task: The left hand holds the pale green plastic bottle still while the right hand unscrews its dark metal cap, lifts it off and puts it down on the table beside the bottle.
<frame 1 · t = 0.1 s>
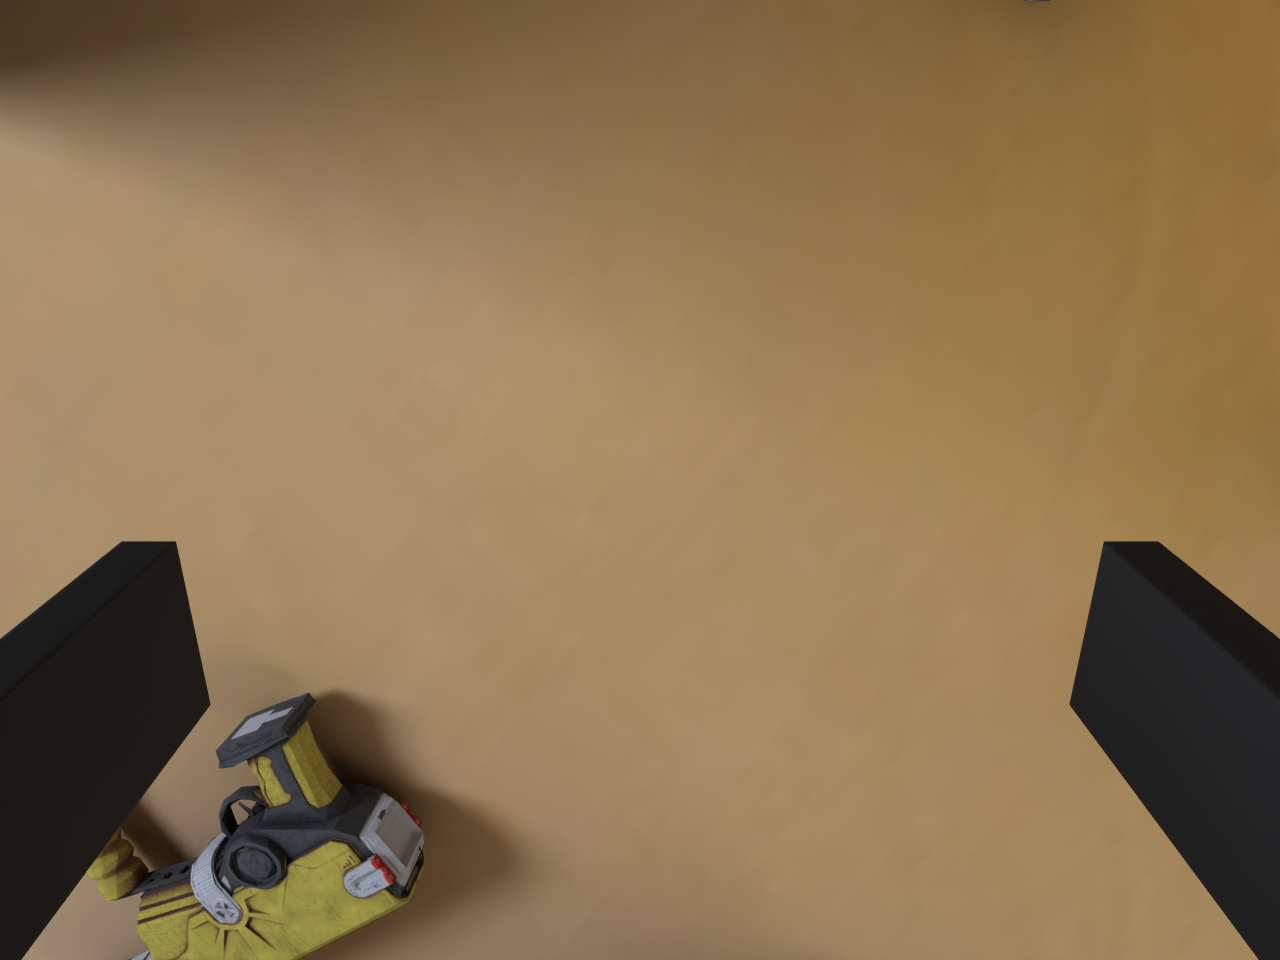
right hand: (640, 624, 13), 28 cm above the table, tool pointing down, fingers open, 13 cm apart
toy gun: (200, 833, 50), on the table
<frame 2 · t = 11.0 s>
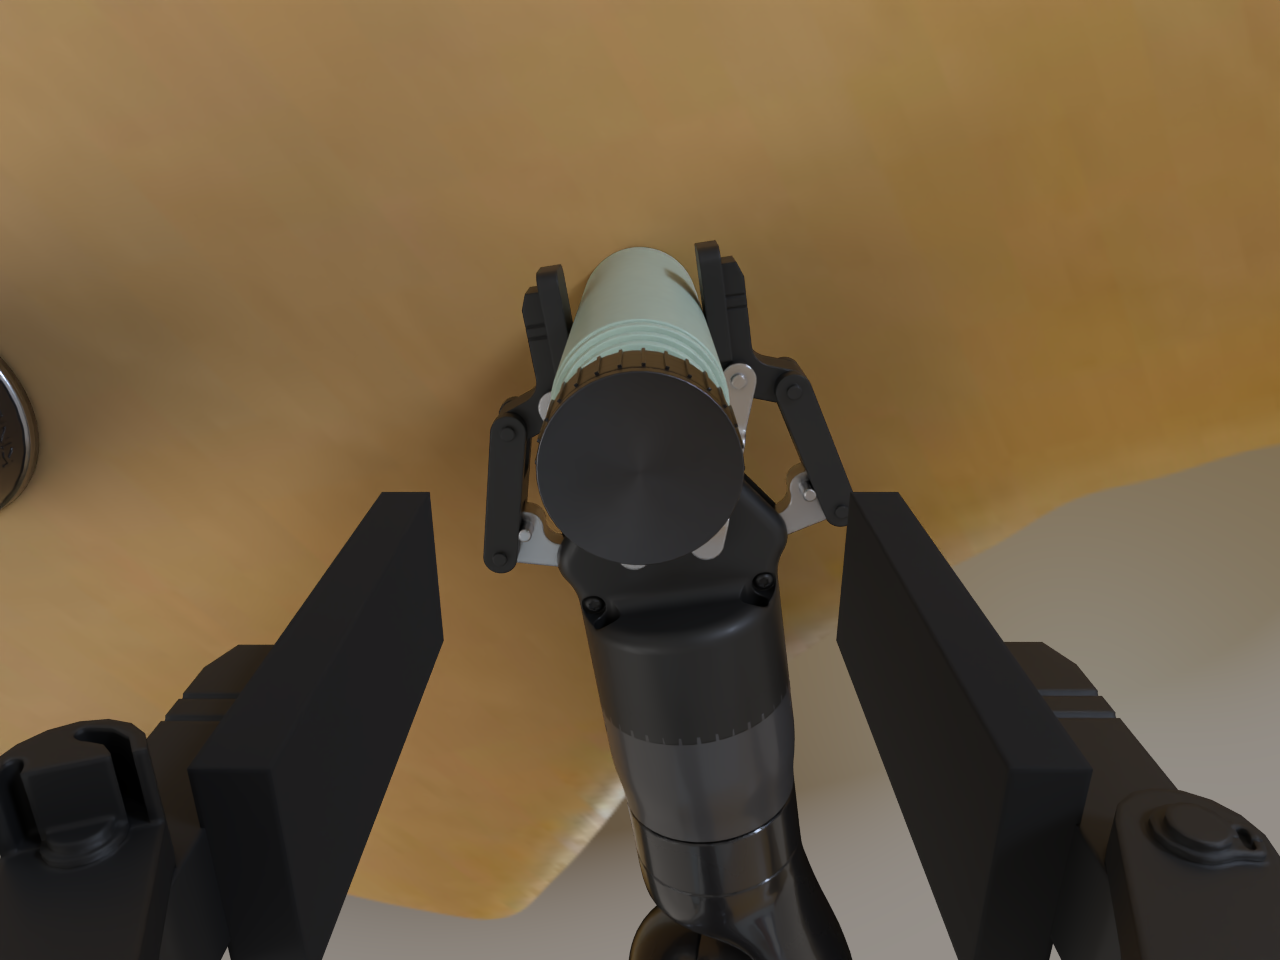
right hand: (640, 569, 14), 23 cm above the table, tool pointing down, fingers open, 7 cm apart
bottle: (639, 305, 36), on the table, touching left hand
cap: (640, 467, 19), point 18 cm above the table, screwed on, not yet turned
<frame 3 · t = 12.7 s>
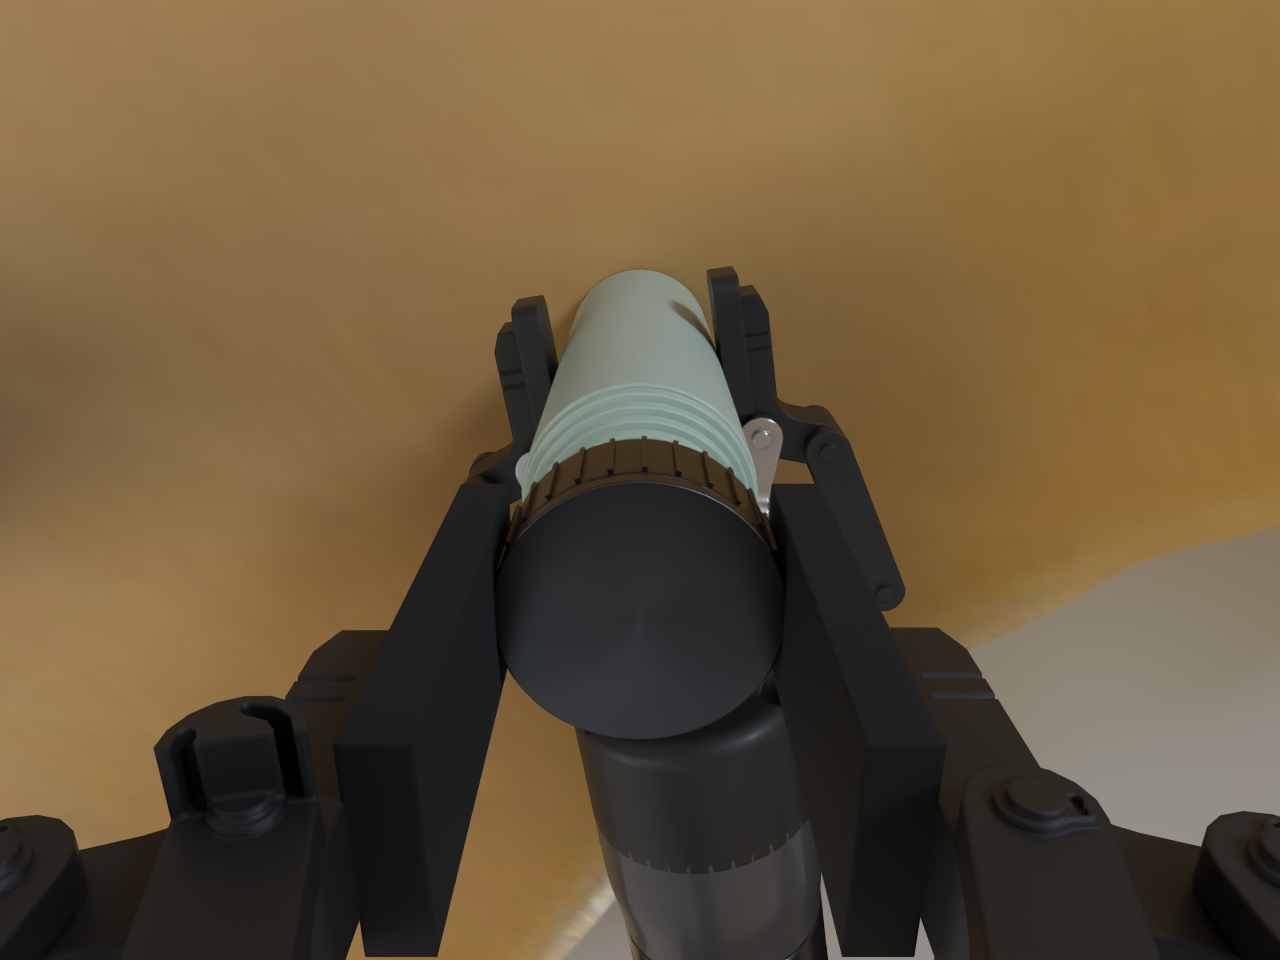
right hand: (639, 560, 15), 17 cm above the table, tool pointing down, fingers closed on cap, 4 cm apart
bottle: (639, 337, 30), on the table, touching left hand
cap: (639, 608, 13), point 18 cm above the table, screwed on, not yet turned, touching right hand
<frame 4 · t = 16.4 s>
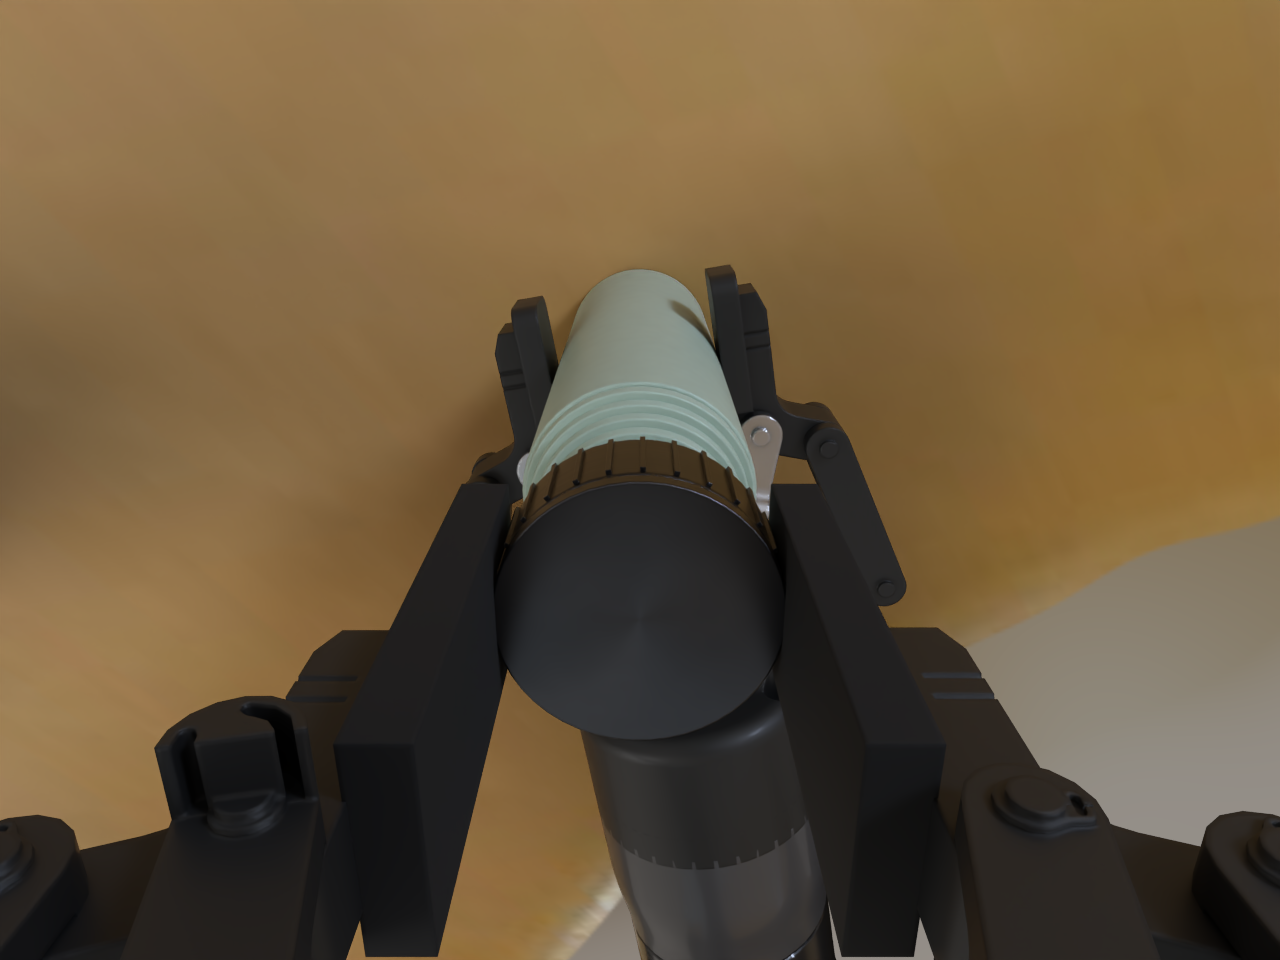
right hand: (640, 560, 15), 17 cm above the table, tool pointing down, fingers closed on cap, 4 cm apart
bottle: (639, 336, 31), on the table, touching left hand
cap: (639, 609, 13), point 18 cm above the table, turned 141° so far, risen 0.2 cm, still on its thread, touching right hand
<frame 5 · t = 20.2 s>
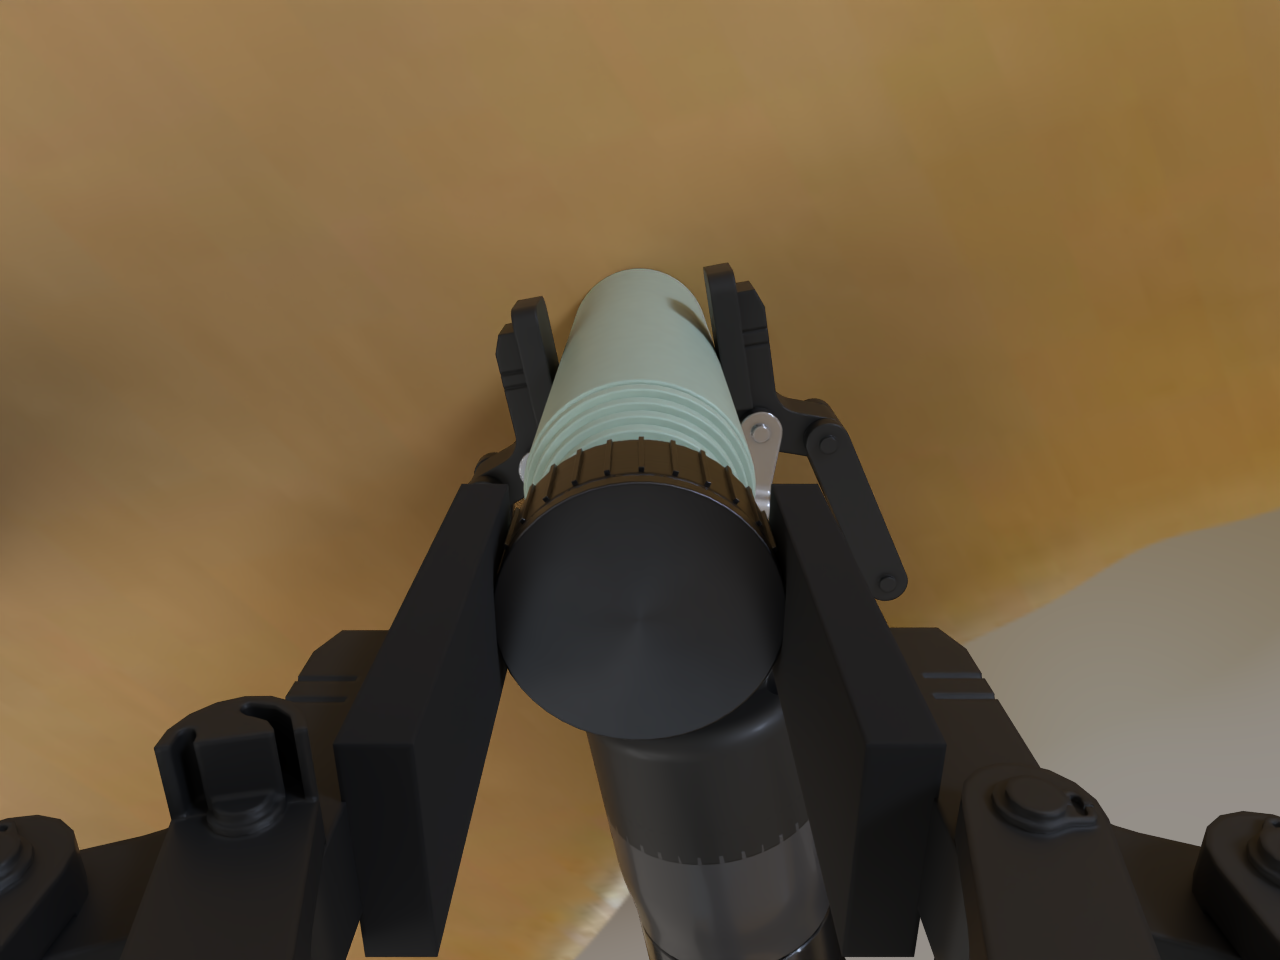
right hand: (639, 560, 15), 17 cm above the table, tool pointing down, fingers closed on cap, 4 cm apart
bottle: (639, 335, 31), on the table, touching left hand
cap: (639, 609, 13), point 19 cm above the table, turned 283° so far, risen 0.3 cm, still on its thread, touching right hand
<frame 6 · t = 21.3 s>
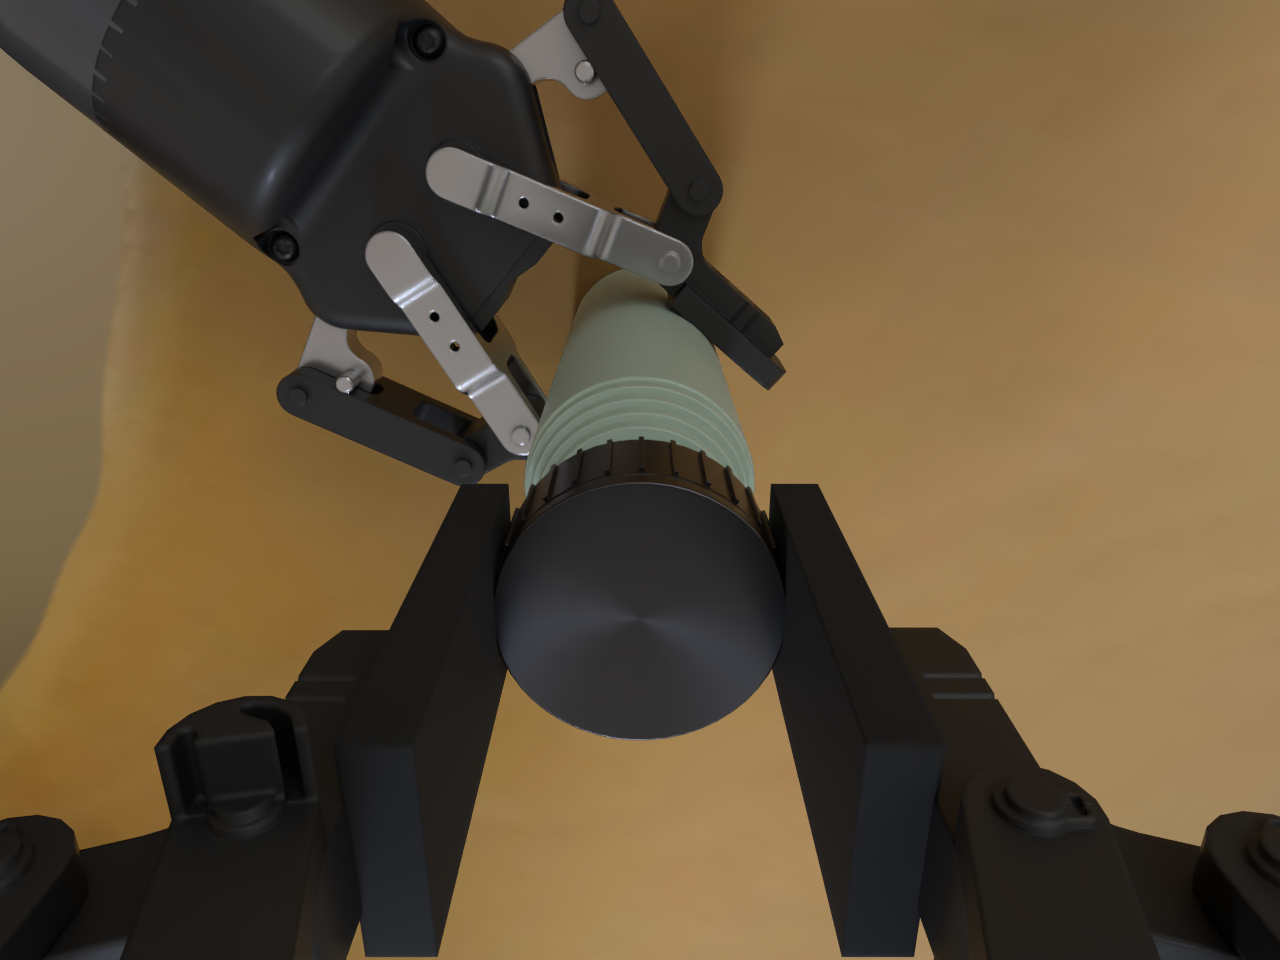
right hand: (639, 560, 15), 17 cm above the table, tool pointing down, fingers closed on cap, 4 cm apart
bottle: (639, 334, 31), on the table, touching left hand
cap: (639, 609, 13), point 19 cm above the table, off its thread, touching right hand
when the right hand's fingers open (1 cm above the table, at t = 27.5 s): cap drops 1 cm, point 2 cm above the table.
when the left hand's fingers open (6 cm above the table, at t = 28.8 s): bottle stays where it is, on the table.
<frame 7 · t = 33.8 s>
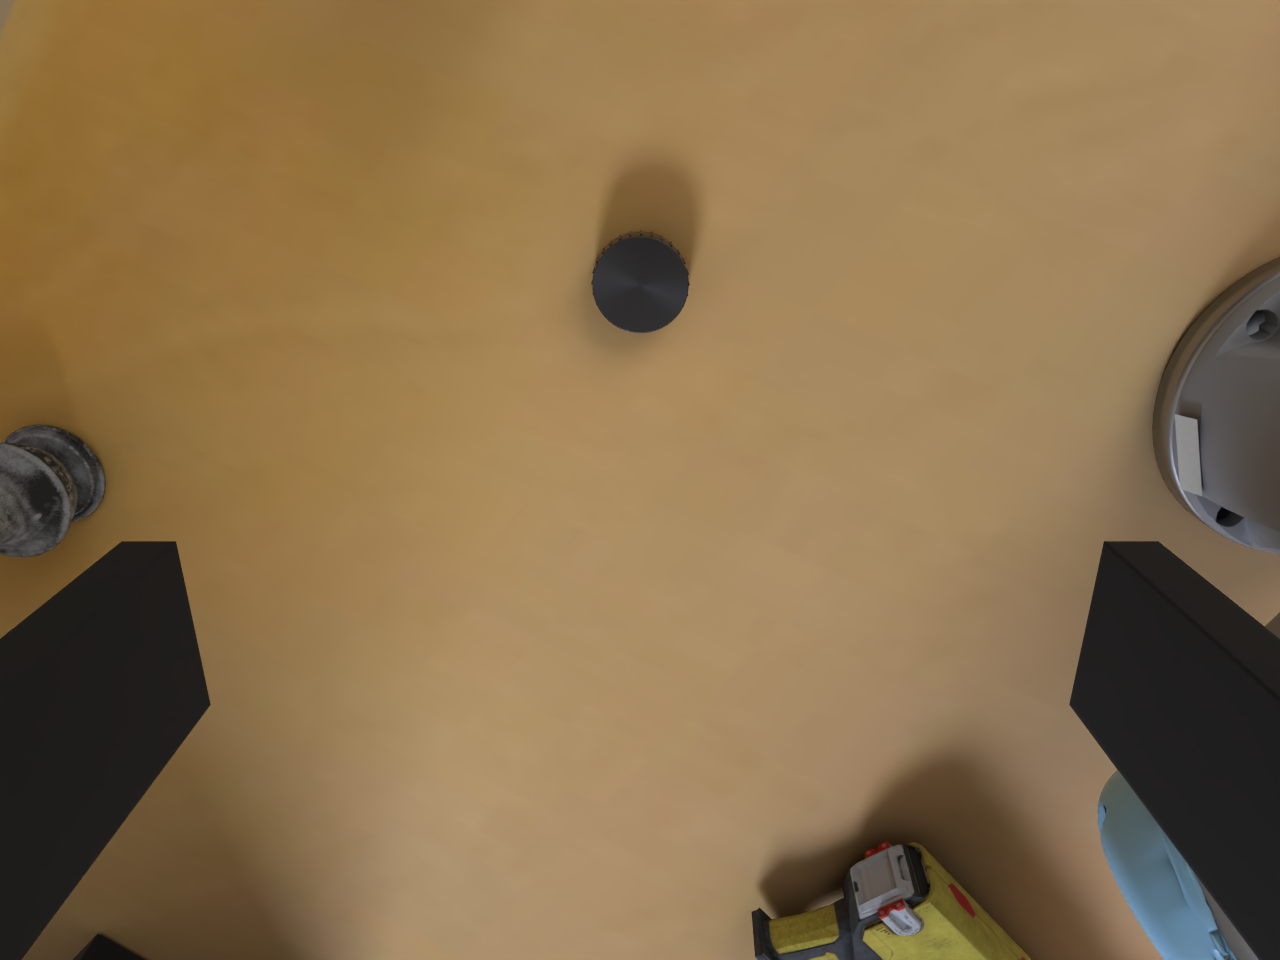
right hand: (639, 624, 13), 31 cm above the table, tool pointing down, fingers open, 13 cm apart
cap: (640, 284, 41), point 2 cm above the table, off its thread
salt shaker: (54, 472, 46), on the table
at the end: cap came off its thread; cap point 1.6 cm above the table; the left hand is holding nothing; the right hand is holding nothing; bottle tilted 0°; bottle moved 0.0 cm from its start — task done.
